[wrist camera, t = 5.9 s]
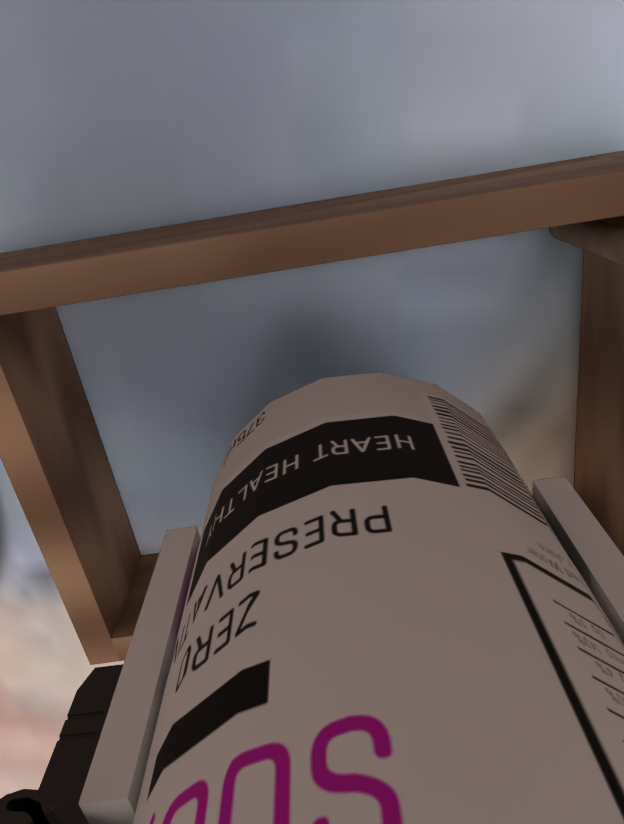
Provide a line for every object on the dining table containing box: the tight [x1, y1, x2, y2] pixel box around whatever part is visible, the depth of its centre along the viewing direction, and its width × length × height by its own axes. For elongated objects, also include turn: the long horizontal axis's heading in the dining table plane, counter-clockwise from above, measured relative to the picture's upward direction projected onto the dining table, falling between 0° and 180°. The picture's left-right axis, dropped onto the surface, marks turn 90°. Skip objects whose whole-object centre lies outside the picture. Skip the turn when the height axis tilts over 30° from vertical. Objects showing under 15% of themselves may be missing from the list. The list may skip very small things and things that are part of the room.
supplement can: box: [133, 372, 624, 824], centre depth 10 cm, size 8×8×15 cm
